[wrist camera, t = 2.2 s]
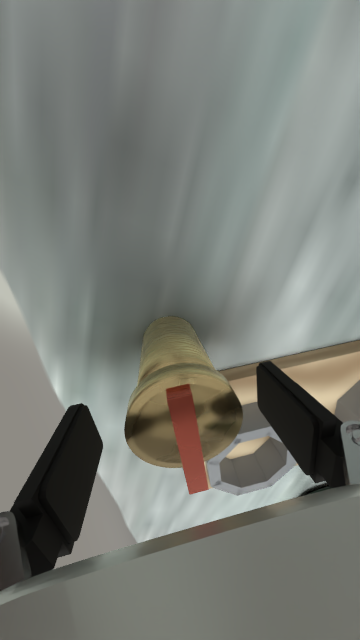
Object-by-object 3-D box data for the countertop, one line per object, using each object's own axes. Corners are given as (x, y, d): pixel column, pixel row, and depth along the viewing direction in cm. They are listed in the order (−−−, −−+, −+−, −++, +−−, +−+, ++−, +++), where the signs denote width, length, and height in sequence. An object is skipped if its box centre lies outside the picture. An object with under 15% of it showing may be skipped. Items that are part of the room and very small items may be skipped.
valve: (132, 319, 14) (104, 407, 6) (195, 306, 14) (248, 375, 6) (149, 381, 16) (144, 506, 8) (204, 368, 17) (251, 477, 9)
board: (166, 382, 16) (168, 395, 15) (405, 329, 18) (426, 336, 17) (188, 478, 22) (191, 493, 20) (373, 429, 23) (388, 440, 22)
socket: (196, 416, 16) (203, 443, 14) (281, 395, 17) (301, 418, 15) (206, 471, 19) (213, 502, 17) (278, 453, 20) (294, 479, 17)
